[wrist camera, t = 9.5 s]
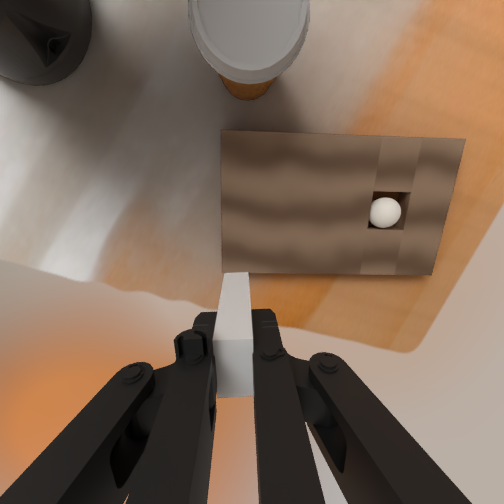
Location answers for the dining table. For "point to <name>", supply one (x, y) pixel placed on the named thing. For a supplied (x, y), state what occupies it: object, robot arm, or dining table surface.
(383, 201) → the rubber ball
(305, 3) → the disposable coffee cup
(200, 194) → the dining table surface
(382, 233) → the hole board
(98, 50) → the dining table surface
